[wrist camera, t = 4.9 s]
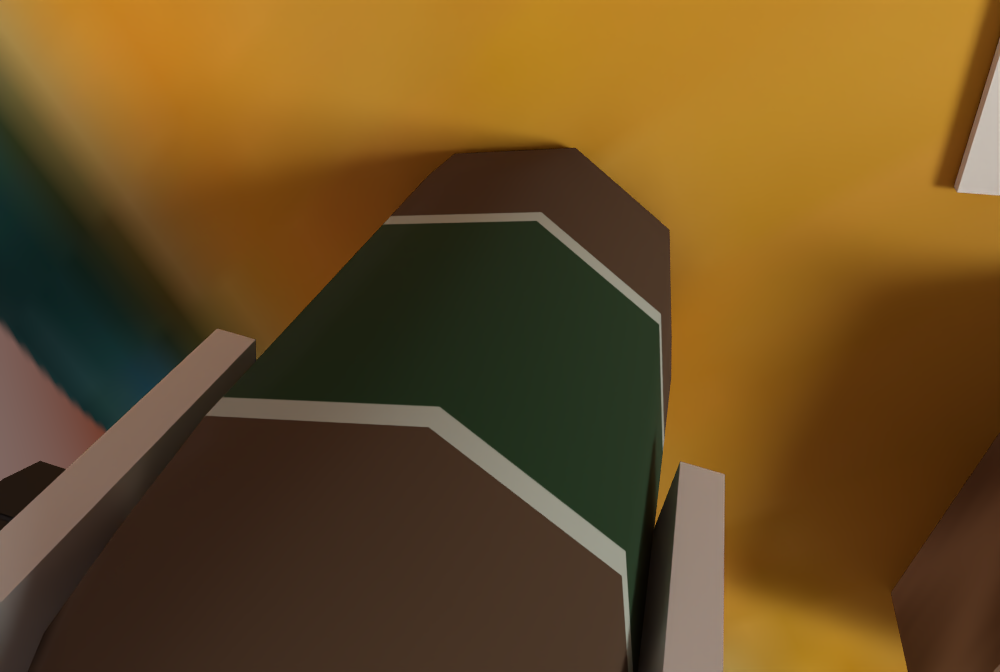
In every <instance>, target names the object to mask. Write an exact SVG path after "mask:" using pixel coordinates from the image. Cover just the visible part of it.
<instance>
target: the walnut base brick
mask: <svg viewBox="0 0 1000 672" xmlns="http://www.w3.org/2000/svg"><path fill="white" fill-rule="evenodd" d="M891 596H892V600H893V605H894V610H895V614H896V619H897V623H898V628H899V633H900V637H901V642H902V647H903V651H904V656H905V660H906V665H907V670H908V672H1000V433H999V434H998V436H997V437H996V439H995V440H994V442H993V443H992V445H991V446H990V448H989V449H988V451H987V452H986V454H985V455H984V456H983V458H982V459H981V461H980V462H979V464H978V465H977V467H976V468H975V470H974V471H973V473H972V474H971V476H970V477H969V479H968V480H967V481H966V483H965V484H964V486H963V487H962V489H961V490H960V492H959V493H958V495H957V496H956V498H955V499H954V501H953V502H952V504H951V505H950V507H949V508H948V509H947V511H946V512H945V514H944V515H943V517H942V518H941V520H940V521H939V523H938V524H937V526H936V527H935V529H934V530H933V532H932V533H931V535H930V536H929V537H928V539H927V540H926V542H925V543H924V545H923V546H922V548H921V549H920V551H919V552H918V554H917V555H916V557H915V558H914V560H913V561H912V563H911V564H910V565H909V567H908V568H907V570H906V571H905V573H904V574H903V576H902V577H901V579H900V580H899V582H898V583H897V585H896V586H895V588H894V589H893V590H892V592H891Z"/></svg>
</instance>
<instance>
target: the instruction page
mask: <svg viewBox="0 0 1000 672" xmlns="http://www.w3.org/2000/svg"><path fill="white" fill-rule="evenodd" d="M954 188H955V190H956V191H957V192H961V193H975V194H989V195H1000V39H999V42H998V45H997V48H996V52H995V55H994V58H993V61H992V65H991V68H990V71H989V74H988V78H987V81H986V84H985V88H984V91H983V94H982V97H981V101H980V104H979V107H978V110H977V114H976V117H975V120H974V123H973V127H972V130H971V133H970V136H969V140H968V143H967V146H966V149H965V153H964V156H963V159H962V162H961V166H960V169H959V172H958V175H957V179H956V182H955V185H954Z"/></svg>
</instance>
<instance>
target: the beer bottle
mask: <svg viewBox="0 0 1000 672" xmlns="http://www.w3.org/2000/svg"><path fill="white" fill-rule="evenodd" d="M670 382H671V287H670V234H669V229H668V228H667V227H666V226H664V225H663V224H662V223H661V222H660V221H659V220H658V219H656V218H655V217H654V216H653V215H652V214H651V213H650V212H648V211H647V210H646V209H645V208H644V207H643V206H641V205H640V204H639V203H638V202H637V201H636V200H635V199H633V198H632V197H631V196H630V195H629V194H628V193H627V192H625V191H624V190H623V189H622V188H621V187H620V186H619V185H617V184H616V183H615V182H614V181H613V180H612V179H611V178H609V177H608V176H607V175H606V174H605V173H604V172H603V171H601V170H600V169H599V168H598V167H597V166H596V165H595V164H593V163H592V162H591V161H590V160H589V159H588V158H587V157H585V156H584V155H583V154H582V153H581V152H580V151H579V150H577V149H576V148H563V149H542V150H522V151H501V152H481V153H460V154H454V155H452V156H451V157H450V158H449V159H448V160H446V161H445V162H444V163H443V164H442V165H440V166H439V167H438V168H437V169H436V170H434V171H433V172H432V173H431V174H430V175H429V176H428V177H427V178H426V179H425V180H424V181H423V182H422V183H421V184H420V185H419V186H418V187H417V188H416V190H415V191H414V192H413V193H412V194H411V195H410V196H409V197H408V198H407V199H406V200H405V201H404V202H403V203H402V205H401V206H400V207H399V208H398V209H397V210H396V211H395V212H394V213H393V214H392V215H391V216H390V217H389V219H388V220H387V221H386V222H385V223H384V224H383V225H382V226H381V227H380V228H379V229H378V230H377V231H376V233H375V234H374V235H373V236H372V237H371V238H370V239H369V240H368V241H367V242H366V243H365V244H364V245H363V247H362V248H361V249H360V250H359V251H358V252H357V253H356V254H355V255H354V256H353V257H352V258H351V259H350V260H349V262H348V263H347V264H346V265H345V266H344V267H343V268H342V269H341V270H340V271H339V272H338V273H337V274H336V276H335V277H334V278H333V279H332V280H331V281H330V282H329V283H328V284H327V285H326V286H325V287H324V288H323V290H322V291H321V292H320V293H319V294H318V295H317V296H316V297H315V298H314V299H313V300H312V301H311V302H310V303H309V305H308V306H307V307H306V308H305V309H304V310H303V311H302V312H301V313H300V314H299V315H298V316H297V317H296V319H295V320H294V321H293V322H292V323H291V324H290V325H289V326H288V327H287V328H286V329H285V330H284V331H283V333H282V334H281V335H280V336H279V337H278V338H277V339H276V340H275V341H274V342H273V343H272V344H271V345H270V347H269V348H268V349H267V350H266V351H265V352H264V353H263V354H262V355H261V356H260V357H259V358H258V359H257V360H256V362H255V363H254V364H253V365H252V366H251V367H250V368H249V369H248V370H247V371H246V372H245V373H244V374H243V376H242V377H241V378H240V379H239V380H238V381H237V382H236V383H235V384H234V385H233V386H232V387H231V388H230V390H229V391H228V392H227V393H226V394H225V395H224V396H223V397H222V398H221V399H220V400H219V401H218V402H217V403H216V405H215V406H214V407H213V408H212V409H211V410H210V411H209V412H208V413H207V414H206V415H205V417H204V418H203V419H202V420H201V422H200V423H199V424H198V426H197V427H196V428H195V429H194V431H193V432H192V433H191V435H190V436H189V437H188V439H187V440H186V441H185V442H184V444H183V445H182V446H181V448H180V449H179V450H178V451H177V453H176V454H175V455H174V457H173V458H172V459H171V461H170V462H169V463H168V464H167V466H166V467H165V468H164V470H163V471H162V472H161V473H160V475H159V476H158V477H157V479H156V480H155V481H154V483H153V484H152V485H151V486H150V488H149V489H148V490H147V492H146V493H145V494H144V495H143V497H142V498H141V499H140V501H139V502H138V503H137V505H136V506H135V507H134V508H133V510H132V511H131V512H130V514H129V515H128V516H127V517H126V519H125V520H124V521H123V523H122V524H121V525H120V527H119V528H118V529H117V531H116V532H115V534H114V535H113V536H112V538H111V539H110V541H109V542H108V543H107V545H106V546H105V548H104V549H103V550H102V552H101V553H100V555H99V556H98V557H97V559H96V560H95V562H94V563H93V564H92V566H91V567H90V569H89V570H88V572H87V573H86V574H85V576H84V577H83V579H82V580H81V581H80V583H79V584H78V586H77V587H76V588H75V590H74V591H73V593H72V594H71V595H70V597H69V598H68V600H67V601H66V602H65V604H64V605H63V607H62V608H61V609H60V611H59V612H58V614H57V615H56V617H55V618H54V619H53V621H52V622H51V624H50V625H49V626H48V628H47V629H46V631H45V632H44V634H43V636H42V639H41V641H40V643H39V646H38V648H37V650H36V653H35V655H34V658H33V660H32V662H31V665H30V667H29V669H28V672H638V665H639V656H640V647H641V638H642V629H643V620H644V611H645V603H646V594H647V585H648V576H649V567H650V558H651V549H652V540H653V531H654V526H655V517H656V508H657V499H658V490H659V481H660V472H661V463H662V454H663V445H664V436H665V427H666V418H667V409H668V400H669V391H670Z"/></svg>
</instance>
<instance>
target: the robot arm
mask: <svg viewBox="0 0 1000 672" xmlns="http://www.w3.org/2000/svg"><path fill="white" fill-rule="evenodd" d="M255 362H256V339H252V338H249V337H245V336H242V335H238V334H235V333H231V332H228V331H224V330H221V329H216V330H215V331H214V332H213V333H212V334H211V335H210V336H209V337H207V338H206V339H205V340H204V341H203V342H202V343H201V344H200V345H199V346H198V347H197V348H196V349H195V350H194V351H192V352H191V353H190V354H189V355H188V356H187V357H186V358H185V359H184V360H183V361H182V362H181V363H180V364H179V365H177V366H176V367H175V368H174V369H173V370H172V371H171V372H170V373H169V374H168V375H167V376H166V377H165V378H164V379H162V380H161V381H160V382H159V383H158V384H157V385H156V386H155V387H154V388H153V389H152V390H151V391H150V392H149V393H147V394H146V395H145V396H144V397H143V398H142V399H141V400H140V401H139V402H138V403H137V404H136V405H135V406H134V407H132V408H131V409H130V410H129V411H128V412H127V413H126V414H125V415H124V416H123V417H122V418H121V419H120V420H119V421H117V422H116V423H115V424H114V425H113V426H112V427H111V428H110V429H109V430H108V431H107V432H106V433H105V434H104V435H103V436H101V437H100V438H99V439H98V440H97V441H96V442H95V443H94V444H93V445H92V446H91V447H90V448H89V449H88V450H86V451H85V452H84V453H83V454H82V455H81V456H80V457H79V458H78V459H77V460H76V461H75V462H74V463H72V465H70V466H69V467H68V468H67V469H64V468H60V467H57V466H54V465H51V464H48V463H45V462H42V461H39V462H37V463H35V464H33V465H31V466H29V467H27V468H25V469H23V470H21V471H19V472H17V473H14V474H13V475H10V476H8V477H6V478H4V479H3V480H1V481H0V672H28V669H29V667H30V665H31V662H32V660H33V658H34V655H35V653H36V650H37V648H38V646H39V643H40V641H41V639H42V636H43V634H44V632H45V631H46V629H47V628H48V626H49V625H50V624H51V622H52V621H53V619H54V618H55V617H56V615H57V614H58V612H59V611H60V609H61V608H62V607H63V605H64V604H65V602H66V601H67V600H68V598H69V597H70V595H71V594H72V593H73V591H74V590H75V588H76V587H77V586H78V584H79V583H80V581H81V580H82V579H83V577H84V576H85V574H86V573H87V572H88V570H89V569H90V567H91V566H92V564H93V563H94V562H95V560H96V559H97V557H98V556H99V555H100V553H101V552H102V550H103V549H104V548H105V546H106V545H107V543H108V542H109V541H110V539H111V538H112V536H113V535H114V534H115V532H116V531H117V529H118V528H119V527H120V525H121V524H122V523H123V521H124V520H125V519H126V517H127V516H128V515H129V514H130V512H131V511H132V510H133V508H134V507H135V506H136V505H137V503H138V502H139V501H140V499H141V498H142V497H143V495H144V494H145V493H146V492H147V490H148V489H149V488H150V486H151V485H152V484H153V483H154V481H155V480H156V479H157V477H158V476H159V475H160V473H161V472H162V471H163V470H164V468H165V467H166V466H167V464H168V463H169V462H170V461H171V459H172V458H173V457H174V455H175V454H176V453H177V451H178V450H179V449H180V448H181V446H182V445H183V444H184V442H185V441H186V440H187V439H188V437H189V436H190V435H191V433H192V432H193V431H194V429H195V428H196V427H197V426H198V424H199V423H200V422H201V420H202V419H203V418H204V417H205V415H206V414H207V413H208V412H209V411H210V410H211V409H212V408H213V407H214V406H215V405H216V403H217V402H218V401H219V400H220V399H221V398H222V397H223V396H224V395H225V394H226V393H227V392H228V391H229V390H230V388H231V387H232V386H233V385H234V384H235V383H236V382H237V381H238V380H239V379H240V378H241V377H242V376H243V374H244V373H245V372H246V371H247V370H248V369H249V368H250V367H251V366H252V365H253V364H254V363H255ZM724 508H725V474H722V473H719V472H715V471H712V470H708V469H705V468H701V467H698V466H694V465H691V464H687V463H684V462H680V464H679V466H678V469H677V471H676V474H675V477H674V479H673V482H672V484H671V487H670V489H669V492H668V494H667V497H666V500H665V502H664V505H663V507H662V510H661V512H660V515H659V517H658V520H657V523H656V525H655V528H654V531H653V540H652V549H651V558H650V567H649V576H648V585H647V594H646V603H645V611H644V620H643V629H642V638H641V647H640V656H639V665H638V672H723V620H724Z"/></svg>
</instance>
